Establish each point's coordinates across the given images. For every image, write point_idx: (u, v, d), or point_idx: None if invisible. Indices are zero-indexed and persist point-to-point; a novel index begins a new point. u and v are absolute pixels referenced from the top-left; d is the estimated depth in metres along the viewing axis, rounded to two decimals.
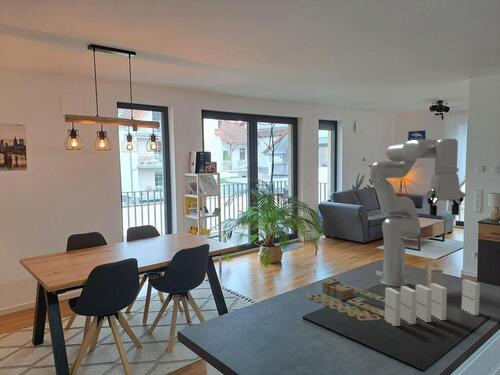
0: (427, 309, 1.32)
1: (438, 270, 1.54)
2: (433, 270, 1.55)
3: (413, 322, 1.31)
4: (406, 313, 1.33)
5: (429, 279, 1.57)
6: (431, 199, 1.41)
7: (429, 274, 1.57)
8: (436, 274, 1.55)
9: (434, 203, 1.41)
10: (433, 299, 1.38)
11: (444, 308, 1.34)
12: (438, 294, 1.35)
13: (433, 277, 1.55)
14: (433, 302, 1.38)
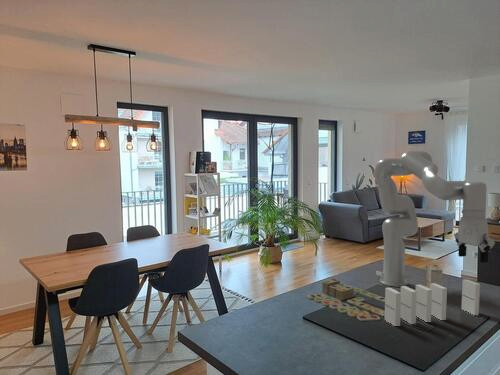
0: (427, 309, 1.32)
1: (438, 270, 1.54)
2: (433, 270, 1.55)
3: (413, 322, 1.31)
4: (406, 313, 1.33)
5: (429, 279, 1.57)
6: None
7: (429, 274, 1.57)
8: (436, 274, 1.55)
9: None
10: (433, 299, 1.38)
11: (444, 308, 1.34)
12: (438, 294, 1.35)
13: (433, 277, 1.55)
14: (433, 302, 1.38)
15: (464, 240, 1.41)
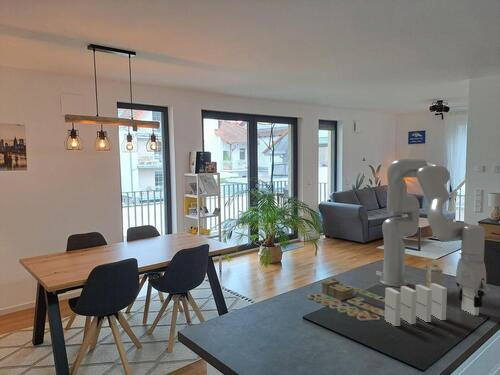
0: (427, 309, 1.32)
1: (438, 270, 1.54)
2: (433, 270, 1.55)
3: (413, 322, 1.31)
4: (406, 313, 1.33)
5: (429, 279, 1.57)
6: None
7: (429, 274, 1.57)
8: (436, 274, 1.55)
9: None
10: (433, 299, 1.38)
11: (444, 308, 1.34)
12: (438, 294, 1.35)
13: (433, 277, 1.55)
14: (433, 302, 1.38)
15: (462, 282, 1.42)
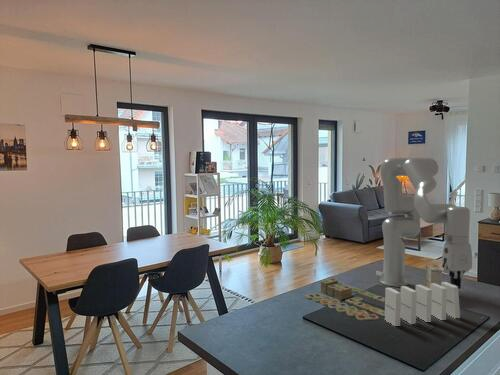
0: (427, 309, 1.32)
1: (438, 270, 1.54)
2: (433, 270, 1.55)
3: (413, 322, 1.31)
4: (406, 313, 1.33)
5: (429, 279, 1.57)
6: None
7: (429, 274, 1.57)
8: (436, 274, 1.55)
9: None
10: (433, 299, 1.38)
11: (444, 308, 1.34)
12: (438, 294, 1.35)
13: (433, 277, 1.55)
14: (433, 302, 1.38)
15: (459, 268, 1.35)
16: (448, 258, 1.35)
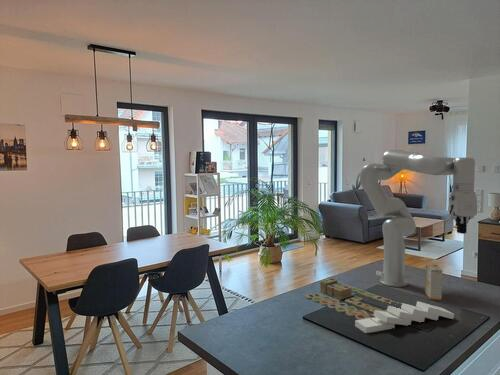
0: (414, 319, 1.31)
1: (438, 270, 1.54)
2: (433, 270, 1.55)
3: (409, 322, 1.30)
4: None
5: (429, 279, 1.57)
6: (464, 217, 1.51)
7: (429, 274, 1.57)
8: (436, 274, 1.55)
9: None
10: None
11: (429, 314, 1.33)
12: None
13: (433, 277, 1.55)
14: None
15: (465, 213, 1.47)
16: (455, 204, 1.47)
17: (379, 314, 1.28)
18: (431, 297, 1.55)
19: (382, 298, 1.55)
